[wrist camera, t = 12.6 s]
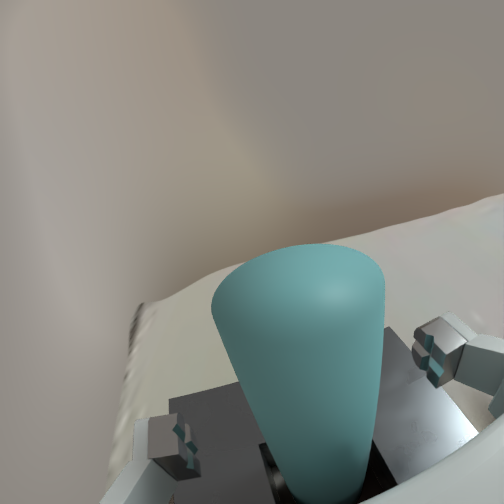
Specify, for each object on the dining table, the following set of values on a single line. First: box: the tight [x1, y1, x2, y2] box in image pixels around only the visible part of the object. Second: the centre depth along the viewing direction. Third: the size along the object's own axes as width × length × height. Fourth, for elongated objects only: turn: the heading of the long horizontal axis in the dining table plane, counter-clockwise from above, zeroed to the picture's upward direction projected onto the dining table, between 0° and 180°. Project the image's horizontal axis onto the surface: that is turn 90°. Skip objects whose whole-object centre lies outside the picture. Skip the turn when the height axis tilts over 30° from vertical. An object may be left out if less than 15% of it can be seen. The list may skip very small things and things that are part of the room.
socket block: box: [169, 327, 478, 504], centre depth 11 cm, size 14×14×3 cm
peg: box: [211, 244, 385, 504], centre depth 9 cm, size 4×4×13 cm
